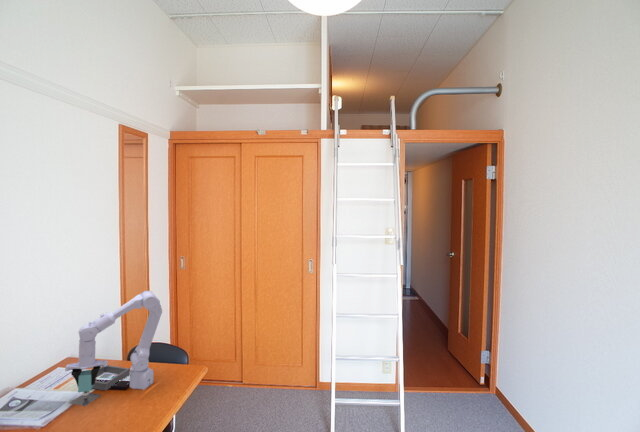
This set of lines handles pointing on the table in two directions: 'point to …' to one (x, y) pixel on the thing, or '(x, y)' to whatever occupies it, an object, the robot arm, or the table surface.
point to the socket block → (85, 381)
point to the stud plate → (85, 398)
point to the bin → (112, 369)
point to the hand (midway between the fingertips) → (86, 384)
